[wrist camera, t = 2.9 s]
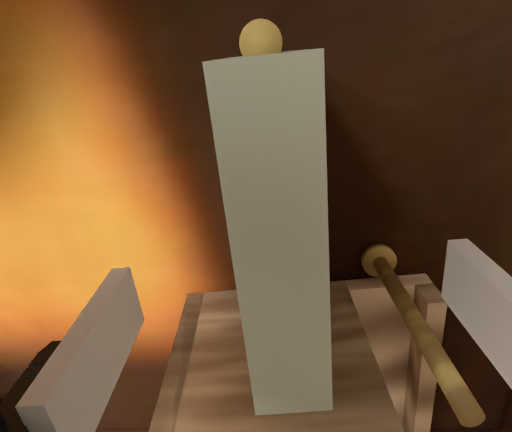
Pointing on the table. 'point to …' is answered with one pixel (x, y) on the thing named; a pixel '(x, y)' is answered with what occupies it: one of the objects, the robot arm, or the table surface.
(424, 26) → the table surface
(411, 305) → the cabinet
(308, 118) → the door
